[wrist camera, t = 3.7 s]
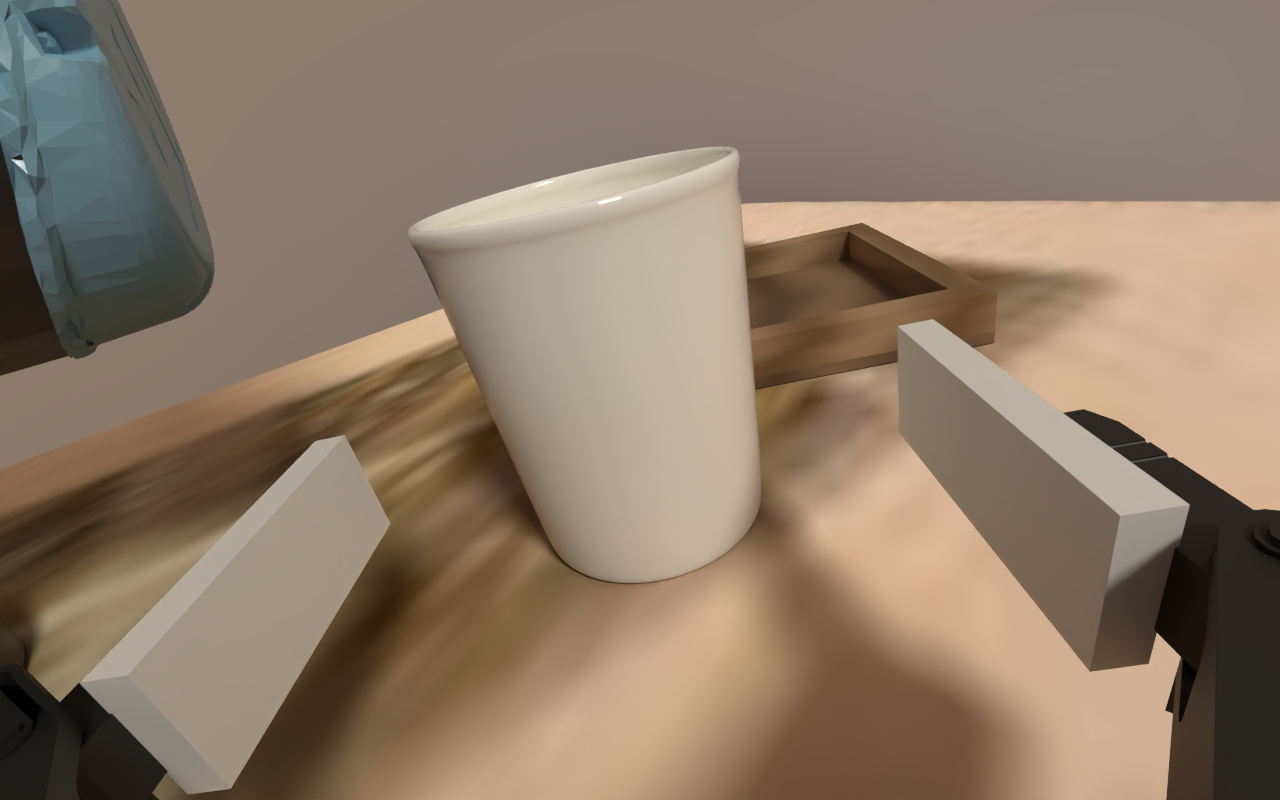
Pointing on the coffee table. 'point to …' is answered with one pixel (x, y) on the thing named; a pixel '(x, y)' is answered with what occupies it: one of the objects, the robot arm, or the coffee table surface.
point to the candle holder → (614, 354)
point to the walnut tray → (851, 302)
